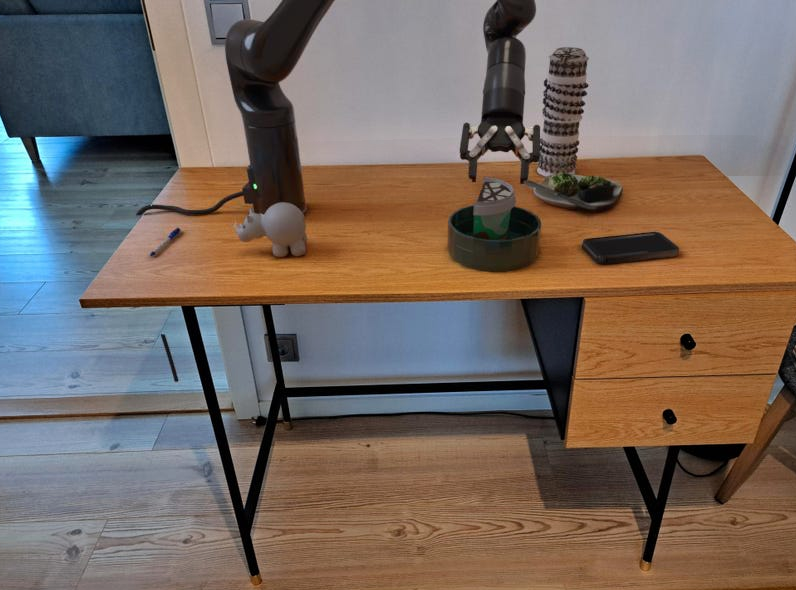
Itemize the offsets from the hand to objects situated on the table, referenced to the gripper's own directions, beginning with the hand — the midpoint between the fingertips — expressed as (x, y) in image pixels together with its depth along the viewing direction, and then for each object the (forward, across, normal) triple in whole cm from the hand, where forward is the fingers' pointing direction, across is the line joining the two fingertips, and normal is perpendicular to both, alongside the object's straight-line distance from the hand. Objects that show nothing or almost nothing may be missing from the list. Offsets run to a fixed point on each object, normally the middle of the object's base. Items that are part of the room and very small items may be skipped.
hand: (497, 181), depth 113 cm
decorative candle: (-16, -12, -29) cm, 36 cm away
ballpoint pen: (+16, +57, +3) cm, 60 cm away
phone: (+11, -24, -1) cm, 26 cm away
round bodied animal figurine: (+16, +38, +4) cm, 41 cm away
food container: (+12, 0, +1) cm, 12 cm away
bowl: (+13, 0, 0) cm, 13 cm away
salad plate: (-6, -16, -18) cm, 25 cm away
